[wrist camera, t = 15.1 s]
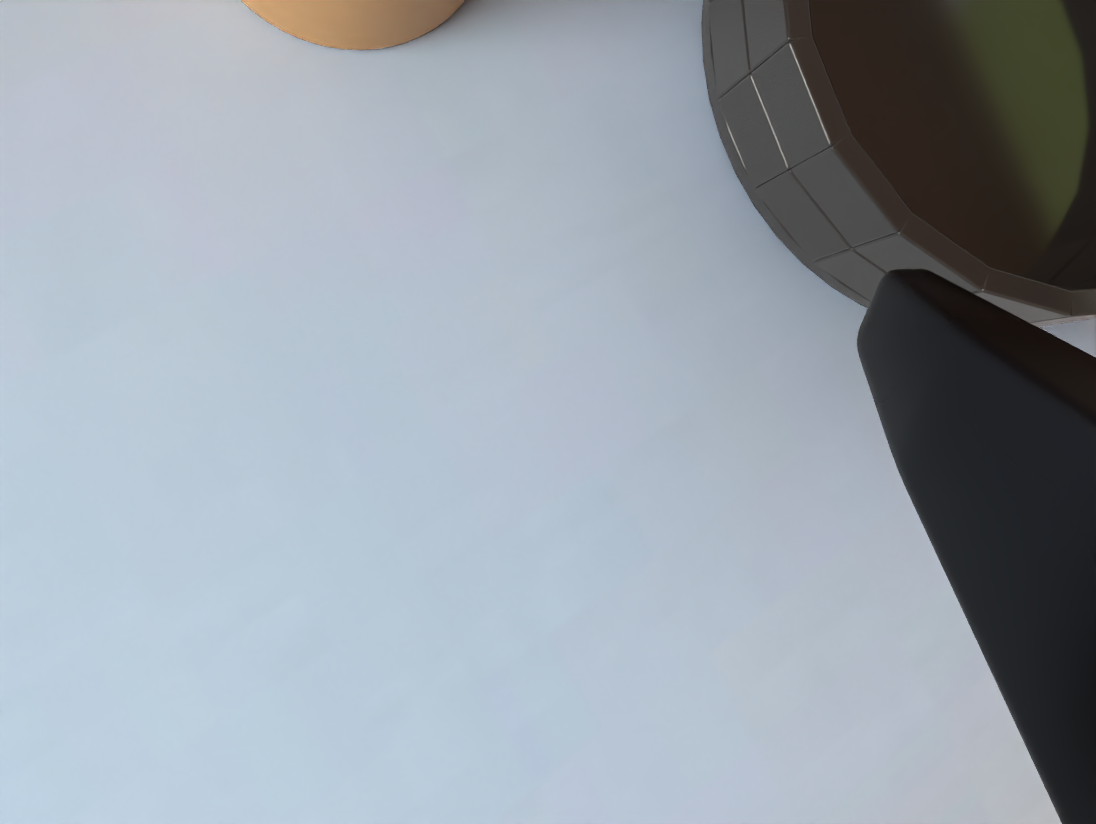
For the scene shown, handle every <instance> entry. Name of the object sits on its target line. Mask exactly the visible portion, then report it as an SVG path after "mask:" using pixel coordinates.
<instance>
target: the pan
mask: <svg viewBox="0 0 1096 824" xmlns="http://www.w3.org/2000/svg"><path fill="white" fill-rule="evenodd" d="M702 44H703V63H704V69H705V75H706V82H707V88H708V94H709V100H710V103H711V107H712V110H713V114H714V117H715V121H716V124H717V128H718V131H719V134H720V138H721V140H722V142H723V145H724V147H725V149H726V152H727V154H728V157H729V159H730V161H731V164H732V166H733V168H734V171H735V173H736V175H737V177H738V178H739V180H740V182H741V184H742V185H743V187H744V189H745V191H746V192H747V194H748V196H749V198H750V199H751V201H752V203H753V205H754V206H755V208H756V209H757V210H758V212H759V213H760V214H761V216H762V217H763V218H764V220H765V221H766V222H767V224H768V225H769V226H770V228H771V229H772V231H773V232H774V233H775V235H776V236H777V237H778V238H779V239H780V240H781V241H782V242H783V243H784V244H785V245H786V247H787V248H788V249H789V250H790V251H791V252H792V253H793V254H794V255H795V256H796V257H797V258H798V259H799V260H800V261H801V262H802V263H803V264H804V265H805V266H806V267H808V268H809V269H810V270H811V271H813V272H814V273H815V274H816V275H817V276H819V277H820V278H821V279H822V280H824V281H825V282H826V283H827V284H829V285H830V286H831V287H833V288H834V289H836V290H838V291H839V292H841V293H842V294H844V295H846V296H847V297H849V298H851V299H852V300H854V301H855V302H857V303H859V304H860V305H862V306H864V307H867V308H868V307H869V305H870V302H871V300H872V298H873V295H874V293H875V291H876V288H877V286H878V284H879V282H880V280H881V278H882V277H883V276H884V275H885V274H886V273H887V272H889V271H891V270H894V269H927V270H929V271H932V272H934V273H935V274H937V275H939V276H941V277H943V278H945V279H947V280H949V281H951V282H953V283H955V284H956V285H958V286H960V287H962V288H964V289H966V290H968V291H970V292H972V293H974V294H975V295H977V296H979V297H981V298H983V299H985V300H987V301H989V302H991V303H993V304H994V305H996V306H998V307H1000V308H1002V309H1004V310H1006V311H1008V312H1010V313H1012V314H1013V315H1015V316H1017V317H1019V318H1021V319H1023V320H1025V321H1027V322H1029V323H1031V324H1033V325H1034V326H1036V327H1040V326H1047V325H1054V324H1060V323H1067V322H1074V321H1081V320H1088V319H1094V318H1096V0H703V12H702Z"/></svg>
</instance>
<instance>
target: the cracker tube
mask: <svg viewBox="0 0 1096 824" xmlns="http://www.w3.org/2000/svg"><path fill="white" fill-rule="evenodd" d="M241 1H242V2H243V3H244V4H245V5H246V6H247V7H249V8H250V9H251V10H252V11H254V12H255V13H256V14H258V15H259V16H260V17H262V18H263V19H264V20H265V21H267V22H269V23H270V24H272V25H274V26H276V27H277V28H279V29H281V30H282V31H284V32H286V33H289V34H291V35H293V36H295V37H298V38H300V39H302V40H305V41H309V42H312V43H315V44H319V45H322V46H327V47H333V48H339V49H351V50H368V49H380V48H385V47H390V46H394V45H399V44H402V43H405V42H408V41H410V40H413V39H416V38H418V37H420V36H422V35H424V34H426V33H427V32H429V31H431V30H433V29H435V28H436V27H437V26H439V25H440V24H441V23H443V22H444V21H445V20H447V19H448V18H449V17H450V16H451V15H452V14H453V13H454V12H455V11H456V10H457V9H458V8H459V7H460V6H461V5H462V4H463V2H464V1H465V0H241Z"/></svg>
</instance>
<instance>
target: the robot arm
mask: <svg viewBox="0 0 1096 824" xmlns="http://www.w3.org/2000/svg"><path fill="white" fill-rule="evenodd" d="M857 347H858V353H859V357H860V360H861V363H862V366H863V369H864V372H865V375H866V378H867V381H868V384H869V387H870V390H871V393H872V396H873V399H874V402H875V405H876V408H877V411H878V414H879V417H880V420H881V423H882V426H883V429H884V431H885V434H886V437H887V440H888V443H889V446H890V449H891V452H892V455H893V458H894V460H895V463H896V466H897V468H898V471H899V473H900V476H901V478H902V480H903V483H904V485H905V487H906V489H907V492H908V494H909V496H910V498H911V500H912V502H913V505H914V507H915V509H916V511H917V513H918V515H919V517H920V520H921V522H922V524H923V526H924V528H925V530H926V532H927V535H928V537H929V539H930V541H931V543H932V545H933V547H934V550H935V552H936V554H937V556H938V558H939V560H940V563H941V565H942V567H943V569H944V571H945V573H946V575H947V578H948V580H949V582H950V584H951V586H952V588H953V590H954V593H955V595H956V597H957V599H958V601H959V603H960V605H961V608H962V610H963V612H964V614H965V616H966V618H967V621H968V623H969V625H970V627H971V629H972V631H973V633H974V636H975V638H976V640H977V642H978V644H979V646H980V648H981V651H982V653H983V655H984V657H985V659H986V661H987V663H988V666H989V668H990V670H991V672H992V674H993V676H994V678H995V681H996V683H997V685H998V687H999V689H1000V691H1001V694H1002V696H1003V698H1004V700H1005V702H1006V704H1007V706H1008V709H1009V711H1010V713H1011V715H1012V717H1013V719H1014V721H1015V724H1016V726H1017V728H1018V730H1019V732H1020V734H1021V736H1022V739H1023V741H1024V743H1025V745H1026V747H1027V749H1028V752H1029V754H1030V756H1031V758H1032V760H1033V762H1034V764H1035V767H1036V769H1037V771H1038V773H1039V775H1040V777H1041V779H1042V782H1043V784H1044V786H1045V788H1046V790H1047V792H1048V794H1049V797H1050V799H1051V801H1052V803H1053V805H1054V807H1055V809H1056V812H1057V814H1058V816H1059V818H1060V820H1061V822H1062V824H1096V358H1095V357H1093V356H1091V355H1090V354H1088V353H1086V352H1084V351H1082V350H1080V349H1078V348H1076V347H1074V346H1072V345H1071V344H1069V343H1067V342H1065V341H1063V340H1061V339H1059V338H1057V337H1055V336H1053V335H1052V334H1050V333H1048V332H1046V331H1044V330H1042V329H1040V328H1038V327H1036V326H1034V325H1033V324H1031V323H1029V322H1027V321H1025V320H1023V319H1021V318H1019V317H1017V316H1015V315H1013V314H1012V313H1010V312H1008V311H1006V310H1004V309H1002V308H1000V307H998V306H996V305H994V304H993V303H991V302H989V301H987V300H985V299H983V298H981V297H979V296H977V295H975V294H974V293H972V292H970V291H968V290H966V289H964V288H962V287H960V286H958V285H956V284H955V283H953V282H951V281H949V280H947V279H945V278H943V277H941V276H939V275H937V274H935V273H934V272H932V271H929V270H927V269H894V270H891V271H889V272H887V273H886V274H885V275H884V276H883V277H882V278H881V280H880V282H879V284H878V286H877V288H876V291H875V293H874V295H873V298H872V300H871V302H870V305H869V307H868V310H867V312H866V314H865V317H864V319H863V321H862V324H861V326H860V329H859V332H858V338H857Z"/></svg>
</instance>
